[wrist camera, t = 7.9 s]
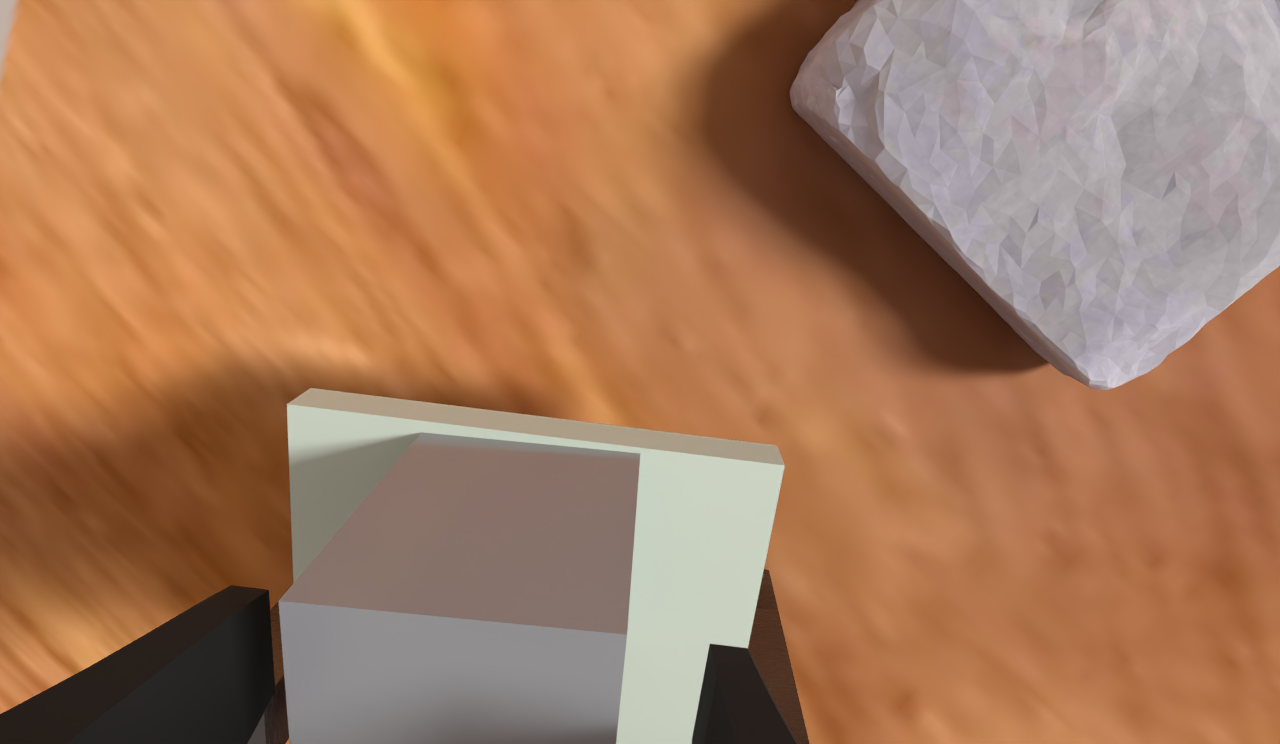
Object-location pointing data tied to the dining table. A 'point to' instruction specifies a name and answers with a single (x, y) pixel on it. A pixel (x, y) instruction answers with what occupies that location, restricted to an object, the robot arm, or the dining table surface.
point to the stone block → (1069, 157)
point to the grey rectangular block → (469, 601)
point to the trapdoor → (663, 541)
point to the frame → (762, 645)
